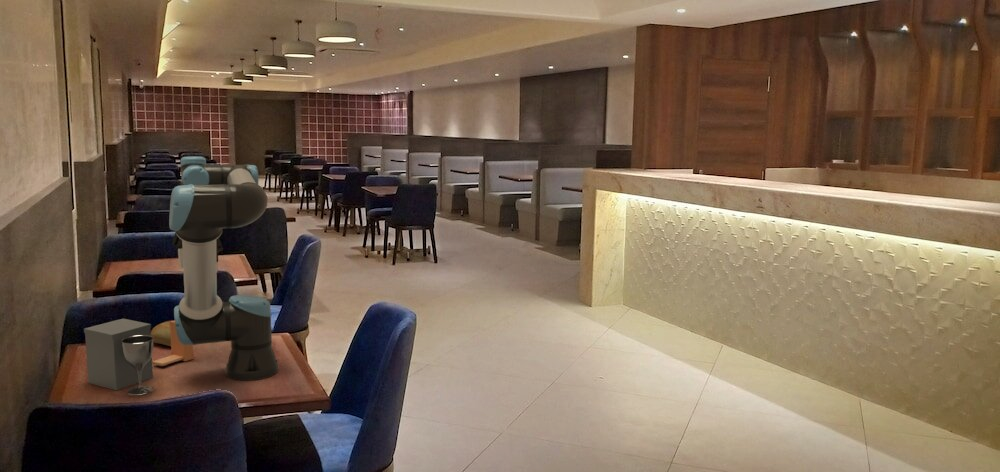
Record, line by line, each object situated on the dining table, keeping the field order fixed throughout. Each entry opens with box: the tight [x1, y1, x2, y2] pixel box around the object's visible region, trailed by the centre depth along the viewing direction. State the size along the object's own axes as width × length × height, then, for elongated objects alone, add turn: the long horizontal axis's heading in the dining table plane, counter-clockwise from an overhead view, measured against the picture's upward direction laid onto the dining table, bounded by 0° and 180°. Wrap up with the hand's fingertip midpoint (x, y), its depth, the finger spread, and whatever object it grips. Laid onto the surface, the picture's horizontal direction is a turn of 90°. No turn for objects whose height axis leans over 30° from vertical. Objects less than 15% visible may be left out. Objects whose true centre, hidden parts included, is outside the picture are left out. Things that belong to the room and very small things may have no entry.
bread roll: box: [150, 320, 171, 347], centre depth 256 cm, size 10×15×8 cm, turn 68°
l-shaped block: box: [152, 319, 194, 367], centre depth 237 cm, size 6×11×12 cm, turn 153°
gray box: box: [83, 318, 154, 391], centre depth 221 cm, size 12×13×16 cm
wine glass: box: [122, 335, 155, 396], centre depth 213 cm, size 8×8×15 cm
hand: (198, 270), depth 247 cm, fingers open, 13 cm apart
